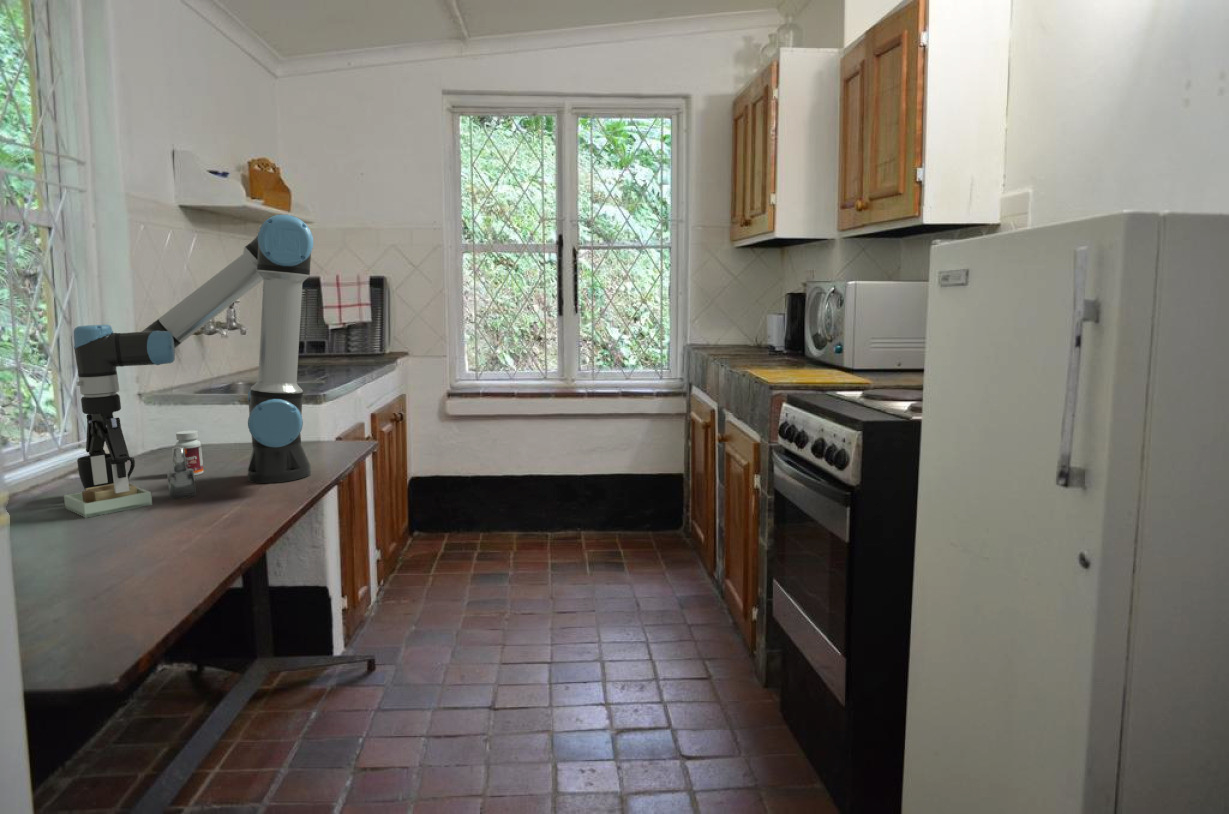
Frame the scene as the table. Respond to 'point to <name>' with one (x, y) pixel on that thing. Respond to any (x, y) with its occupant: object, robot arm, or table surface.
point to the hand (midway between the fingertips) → (111, 487)
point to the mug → (87, 474)
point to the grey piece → (180, 476)
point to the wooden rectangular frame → (105, 493)
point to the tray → (107, 503)
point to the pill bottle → (191, 450)
